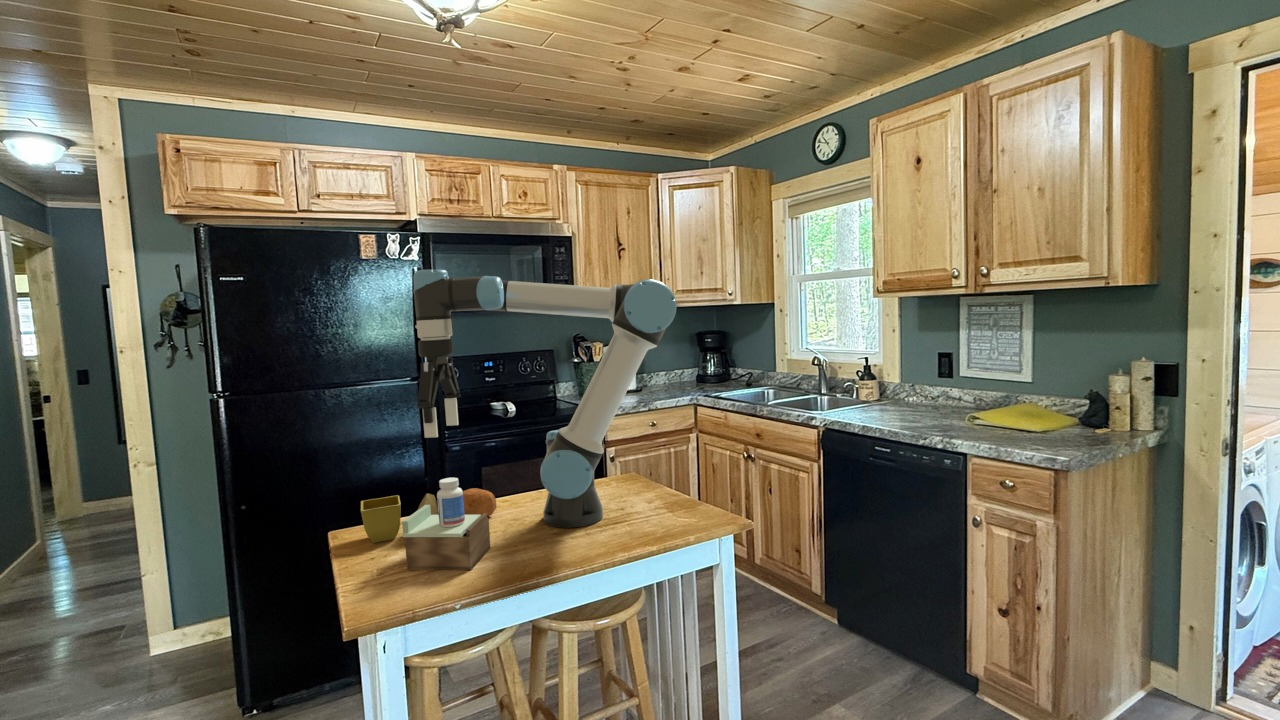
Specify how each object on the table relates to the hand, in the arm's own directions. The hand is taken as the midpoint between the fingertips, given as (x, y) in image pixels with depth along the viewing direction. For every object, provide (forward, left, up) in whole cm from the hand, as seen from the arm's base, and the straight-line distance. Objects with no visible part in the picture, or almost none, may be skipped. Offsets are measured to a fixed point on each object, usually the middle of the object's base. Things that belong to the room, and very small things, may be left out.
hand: (442, 431), depth 144 cm
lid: (-2, +8, -20) cm, 22 cm away
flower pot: (+19, -4, -27) cm, 33 cm away
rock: (+9, -5, -27) cm, 29 cm away
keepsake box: (-3, +8, -27) cm, 28 cm away
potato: (+2, -20, -27) cm, 34 cm away
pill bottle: (-4, +8, -19) cm, 21 cm away
